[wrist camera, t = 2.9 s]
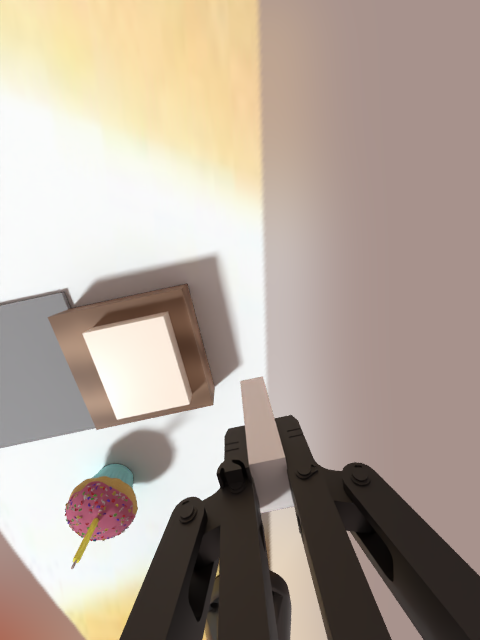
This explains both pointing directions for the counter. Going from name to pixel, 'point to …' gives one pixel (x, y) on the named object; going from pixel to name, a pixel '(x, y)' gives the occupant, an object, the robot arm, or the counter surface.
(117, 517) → the cupcake
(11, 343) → the mat
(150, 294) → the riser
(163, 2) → the counter surface
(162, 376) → the cream rectangular block
